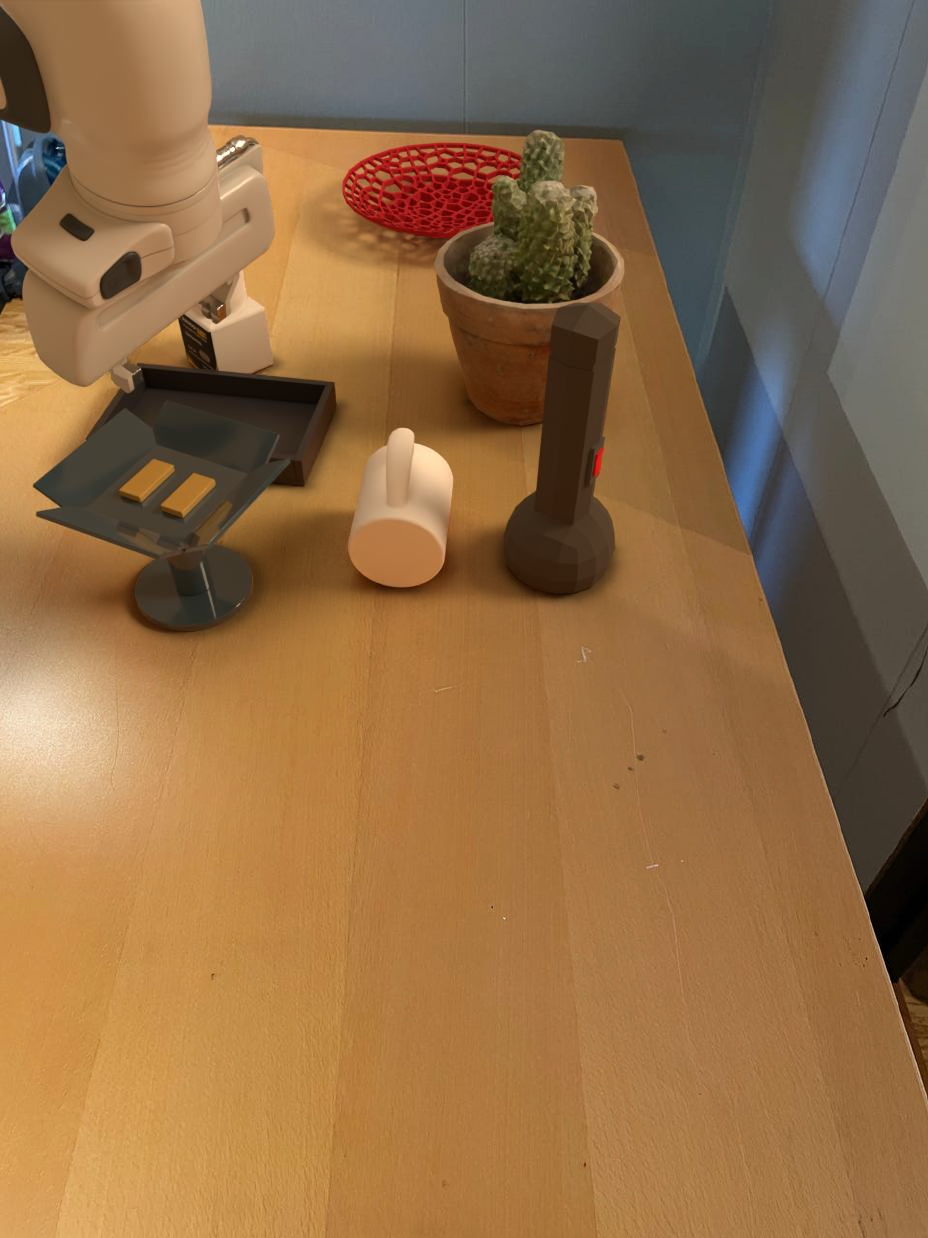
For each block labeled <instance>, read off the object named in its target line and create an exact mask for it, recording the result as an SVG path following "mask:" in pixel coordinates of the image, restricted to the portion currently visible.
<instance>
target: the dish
mask: <svg viewBox="0 0 928 1238" xmlns="http://www.w3.org/2000/svg"><path fill="white" fill-rule="evenodd" d="M279 437H280V435H279V434H277V433H274V432H270V431H267V430H264V429H260V428H257V427H254V426H250V425H247V424H244V423H241V422H237V421H234V420H231V419H227V418H224V417H221V416H217V415H214V414H211V413H207V412H204V411H201V410H197V409H194V408H191V407H187V406H184V405H181V404H177V403H174V402H171V401H168V400H166V401H165V403H164V406H163V408H162V410H161V412H160V414H159V416H158V418H157V420H156V422H155V424H154V427H153V429H152V428H151V427H149V426H148V425H147V424H145V423H144V422H143V421H142V420H140V419H139V418H138V417H136V416H135V415H134V414H132V413H131V412H130V411H129V410H127V409H126V408H124V409H123V410H122V411H121V412H119V413H118V414H117V415H116V416H115V417H113V418H112V419H111V420H110V421H109V422H107V423H106V424H105V425H104V426H103V427H101V428H100V429H99V430H98V431H97V432H95V433H94V434H93V435H92V436H91V437H89V438H88V439H87V440H86V439H85V440H84V441H83V442H82V443H81V444H80V445H78V446H77V447H75V449H74V450H73V451H71V452H70V453H69V454H67V456H65V457H64V458H63V459H61V460H60V461H59V462H58V463H57V464H55V465H54V466H53V467H52V468H50V470H48V471H47V472H46V473H44V475H43V476H41V477H40V478H39V479H38V480H36V481H35V482H34V483H33V484H32V488H34V489H35V490H37V491H38V492H39V493H40V494H42V495H43V496H45V497H46V498H47V499H48V500H50V501H51V502H53V503H54V504H55V505H57V506H58V507H54V508H49V509H48V508H47V509H43V510H37V511H36V512H35V517H37V518H40V519H42V520H45V521H48V522H51V523H54V524H57V525H59V526H62V527H65V528H67V529H70V530H73V531H76V532H79V533H82V534H85V535H86V536H90V537H93V538H95V539H98V540H101V541H104V542H106V543H110V544H112V545H115V546H118V547H121V548H123V549H126V550H129V551H132V552H134V553H137V554H139V555H142V556H146V557H148V558H151V559H153V560H151V562H150V563H149V564H148V565H146V566H145V568H144V569H143V570H142V572H141V573H140V574H139V576H138V578H137V581H136V583H135V587H134V597H135V601H136V604H137V607H138V609H139V611H140V613H141V614H142V615H143V617H144V618H145V619H147V620H148V622H151V623H152V624H153V625H155V626H157V627H159V628H162V629H164V630H170V631H174V632H197V631H203V630H207V629H210V628H213V627H216V626H218V625H221V624H223V623H225V622H228V621H229V620H230V619H231V618H234V617H235V616H236V615H237V614H238V613H240V612H241V611H242V610H243V608H245V606H246V605H247V604H248V602H249V600H250V599H251V597H252V594H253V591H254V584H255V582H254V576H253V575H254V574H253V571H252V568H251V566H250V563H248V560H246V559H245V558H244V556H243V555H242V554H240V553H239V552H237V551H235V550H234V549H232V548H229V547H226V546H223V545H220V544H219V545H218V544H216V543H217V542H218V541H219V540H220V539H221V538H222V537H223V535H225V534H226V533H227V531H229V529H230V528H231V527H233V525H234V524H235V523H236V522H237V521H238V520H239V518H241V517H242V515H244V513H245V512H246V511H247V510H248V509H249V508H250V506H251V505H252V504H253V503H254V502H255V501H257V499H258V498H259V497H260V496H261V495H262V494H263V493H264V492H265V490H266V489H268V488H269V487H270V486H271V484H273V483H272V482H273V481H274V480H275V479H276V477H277V476H278V475H279V474H280V473H281V472H282V471H283V470H284V469H285V468H286V467H287V466H288V465H289V463H290V460H289V459H288V458H287V459H283V460H279V461H275V462H271V463H268V462H269V460H270V457H271V455H272V453H273V451H274V448H275V446H276V444H277V442H278V440H279ZM152 459H156V460H159V461H162V462H165V463H168V464H171V465H173V466H174V469H175V471H174V472H173V473H172V474H171V475H170V476H169V477H168V478H167V479H166V480H165V481H164V482H162V483H161V484H160V485H159V486H158V487H157V488H156V489H155V490H154V491H153V492H152V493H151V494H150V495H149V496H148V497H147V498H146V499H145V500H143V501H142V502H138V501H135V500H132V499H129V498H126V497H123V496H121V495H120V492H119V490H120V489H121V488H122V487H123V486H124V485H125V484H126V483H127V482H128V481H129V480H130V479H132V478H133V477H134V476H135V475H136V474H137V473H138V472H139V471H140V470H141V469H143V468H144V467H145V466H146V465H147V464H148V463H149V462H150V461H151V460H152ZM193 473H196V474H199V475H202V476H205V477H208V478H211V479H214V480H215V484H216V485H215V486H214V487H213V488H212V489H211V490H210V492H209V493H208V494H207V495H206V496H205V497H204V498H203V499H202V500H201V501H200V502H199V503H198V504H197V505H196V506H195V507H194V508H193V509H192V510H191V511H190V512H189V513H188V514H187V515H186V516H185V517H184V518H181V517H178V516H175V515H173V514H170V513H167V512H164V511H162V510H161V506H160V505H161V504H162V503H163V502H164V501H165V500H166V499H167V498H168V497H169V496H170V495H171V494H172V493H173V492H174V491H176V490H177V489H178V488H179V487H180V486H181V485H182V484H183V483H184V482H185V481H186V480H187V479H188V478H189V477H190V476H191V475H192V474H193Z"/></svg>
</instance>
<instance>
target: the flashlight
mask: <svg viewBox="0 0 928 1238" xmlns="http://www.w3.org/2000/svg"><path fill="white" fill-rule="evenodd" d="M621 319H622V317H621V316H620V315H619V314H618V313H616V312H615V311H614V310H613V311H612V310H610V309H609V308H608V307H606V306H605V305H603V304H602V303H572V304H569V305H565V306H562V307H559V308H558V309H557V312H556V314H555V317H554V320H553V322H552V326H551V337H550V347H549V350H551V352H550V354H549V358H548V369H547V379H546V390H545V401H544V411H543V422H541V424H542V425H541V432H540V433H541V434H540V444H539V456H538V465H537V475H536V476H537V477H536V487H535V490H534V491H533V492H531V493H530V494H528V495H527V496H526V497H525V498H523V499H522V500H521V501H520V502H519V503H518V504H517V505H516V506H515V507H514V508H513V510H512V512H511V514H510V516H509V518H508V519H507V523H506V527H505V530H504V533H503V549H504V556H505V562H506V566H507V567H508V568H509V570H510V571H511V572H512V574H513V575H514V577H515V578H516V579H518V580H519V581H521V582H522V583H524V584H526V585H527V586H529V587H530V588H532V589H534V590H537V591H542V592H545V593H548V594H549V593H550V594H576V593H578V592H581V591H584V590H587V589H590V588H592V587H593V586H594V585H595V584H597V583H598V582H599V581H600V580H601V579H602V578H603V577H604V575H605V573H606V571H607V569H608V566H609V565H610V562H611V560H612V557H613V554H614V552H615V550H616V536H615V534H616V533H615V528H614V522H613V518H612V517H611V515H610V513H609V510H608V509H607V508H606V507H605V505H604V504H603V503H602V502H601V501H600V500H599V498H597V497H596V496H594V495H595V488H596V483H597V482H596V481H597V479H598V477H599V475H600V472H601V471H602V461H603V454H604V450H605V447H604V446H605V440H606V437H605V436H603V435H604V430H605V429H604V428H605V421H606V415H607V411H608V410H607V409H608V402H609V397H610V389H611V385H612V383H611V382H612V378H613V377H612V376H613V371H614V363H615V356H616V351H617V348H616V346H617V342H618V337H619V330H620V325H621Z"/></svg>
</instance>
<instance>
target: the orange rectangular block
mask: <svg viewBox="0 0 928 1238" xmlns="http://www.w3.org/2000/svg"><path fill="white" fill-rule="evenodd" d="M174 471H175V469H174V466H173V465H171V464H168V463H165V462H162V461H159V460H156V459H152V460H151V461H150V462H149V463H148V464H147V465H146V466H145V467H144V468H143V469H141V470H140V471H139V472H138V473H137V474H136V475H135V476H134V477H133V478H132V479H130V480H129V481H128V482H127V483H126V484H125V485H124V486H123V487H122V488H121V489H120V490H119V492H120V495H121V496H123V497H126V498H129V499H132V500H135V501H138V502H142V501H143V500H145V499H146V498H147V497H148V496H149V495H150V494H151V493H152V492H153V491H154V490H155V489H156V488H157V487H158V486H159V485H160V484H161V483H162V482H164V481H165V480H166V479H167V478H168V477H169V476H170V475H171V474H172V473H173V472H174Z"/></svg>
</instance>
